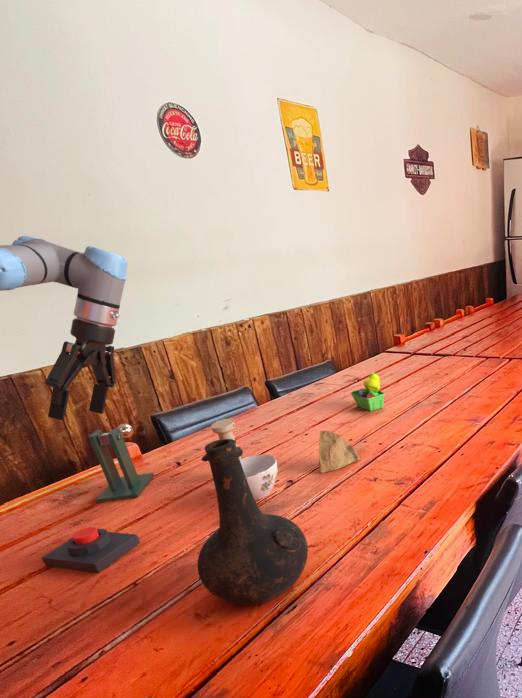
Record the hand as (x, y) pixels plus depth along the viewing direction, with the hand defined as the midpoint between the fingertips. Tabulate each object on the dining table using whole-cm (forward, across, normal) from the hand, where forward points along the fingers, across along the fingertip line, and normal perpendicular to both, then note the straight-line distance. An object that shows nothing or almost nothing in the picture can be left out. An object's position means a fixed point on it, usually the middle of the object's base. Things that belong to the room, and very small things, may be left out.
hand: (77, 415), depth 115 cm
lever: (+7, +12, -4) cm, 14 cm away
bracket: (+18, +10, -9) cm, 23 cm away
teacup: (+8, -1, -41) cm, 42 cm away
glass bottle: (+12, -35, -54) cm, 66 cm away
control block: (+22, -18, -18) cm, 34 cm away
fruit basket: (-15, +57, -58) cm, 82 cm away
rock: (-2, +12, -57) cm, 59 cm away
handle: (+8, +11, -34) cm, 36 cm away
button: (+19, -19, -17) cm, 32 cm away
